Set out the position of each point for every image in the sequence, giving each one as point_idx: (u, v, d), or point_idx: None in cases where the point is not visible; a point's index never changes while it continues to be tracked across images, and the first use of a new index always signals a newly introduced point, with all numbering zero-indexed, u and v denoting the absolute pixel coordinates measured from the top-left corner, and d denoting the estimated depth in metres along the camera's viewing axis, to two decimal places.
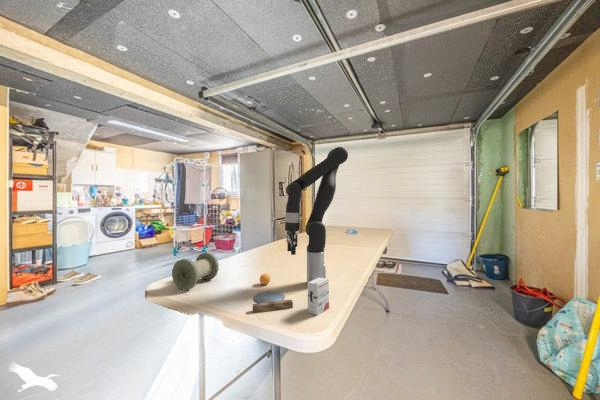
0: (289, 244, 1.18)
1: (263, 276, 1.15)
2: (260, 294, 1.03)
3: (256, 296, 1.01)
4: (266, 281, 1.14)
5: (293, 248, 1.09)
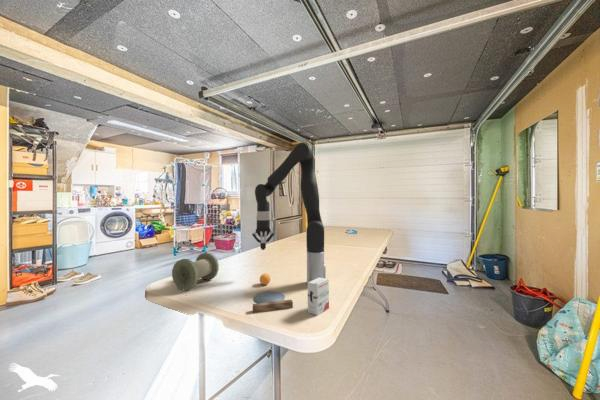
0: None
1: (263, 276, 1.15)
2: (260, 294, 1.03)
3: (256, 296, 1.01)
4: (266, 281, 1.14)
5: None
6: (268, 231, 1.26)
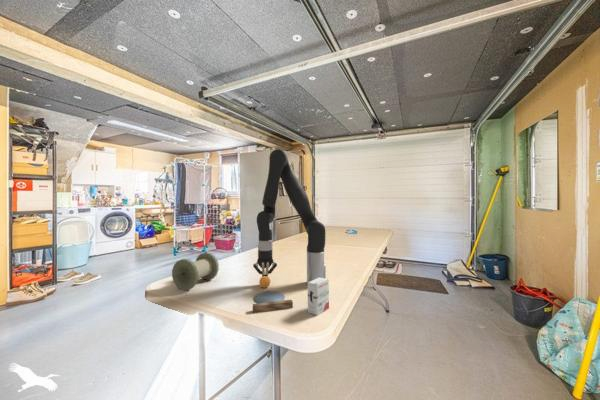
0: None
1: (263, 284, 1.10)
2: (260, 294, 1.03)
3: (256, 296, 1.01)
4: None
5: None
6: (270, 262, 1.16)
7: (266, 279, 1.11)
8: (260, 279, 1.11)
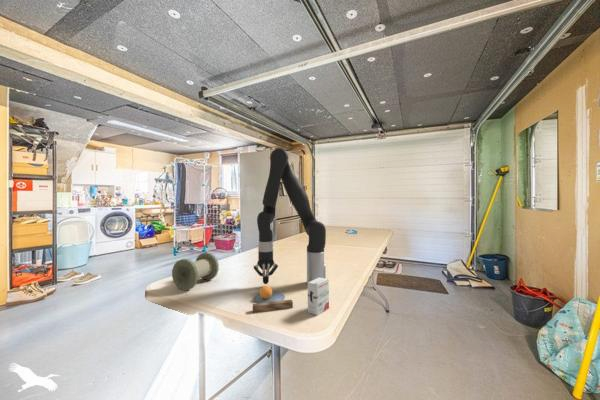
0: None
1: (264, 287, 0.98)
2: None
3: (256, 296, 1.01)
4: (268, 292, 0.97)
5: None
6: (271, 263, 1.13)
7: None
8: None
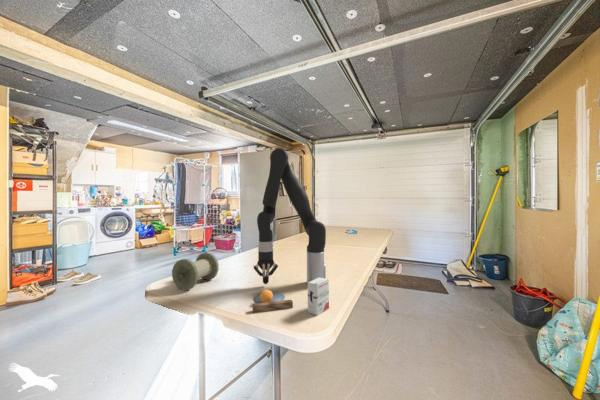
0: None
1: (264, 301, 0.92)
2: None
3: (256, 296, 1.01)
4: None
5: None
6: (271, 263, 1.13)
7: (268, 295, 0.93)
8: (261, 294, 0.93)
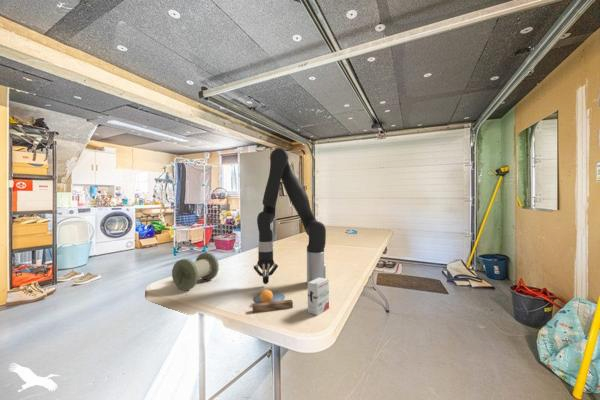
0: None
1: (264, 301, 0.92)
2: None
3: (256, 296, 1.01)
4: None
5: None
6: (271, 263, 1.13)
7: (268, 295, 0.93)
8: (261, 294, 0.93)
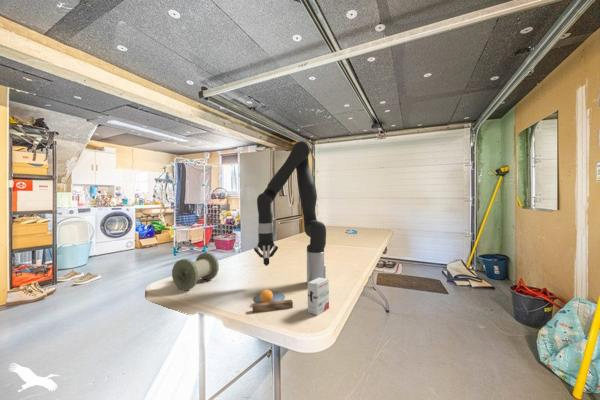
0: (266, 258, 1.14)
1: (264, 301, 0.92)
2: None
3: (256, 296, 1.01)
4: None
5: (263, 259, 1.14)
6: (271, 245, 1.14)
7: (268, 295, 0.93)
8: (261, 294, 0.93)
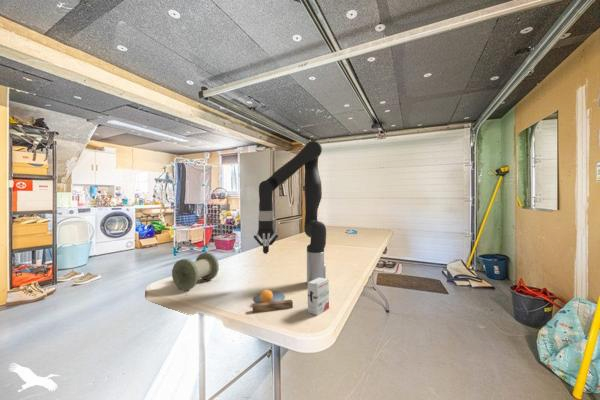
0: None
1: (264, 301, 0.92)
2: None
3: (256, 296, 1.01)
4: None
5: (263, 247, 1.14)
6: (271, 233, 1.14)
7: (268, 295, 0.93)
8: (261, 294, 0.93)
